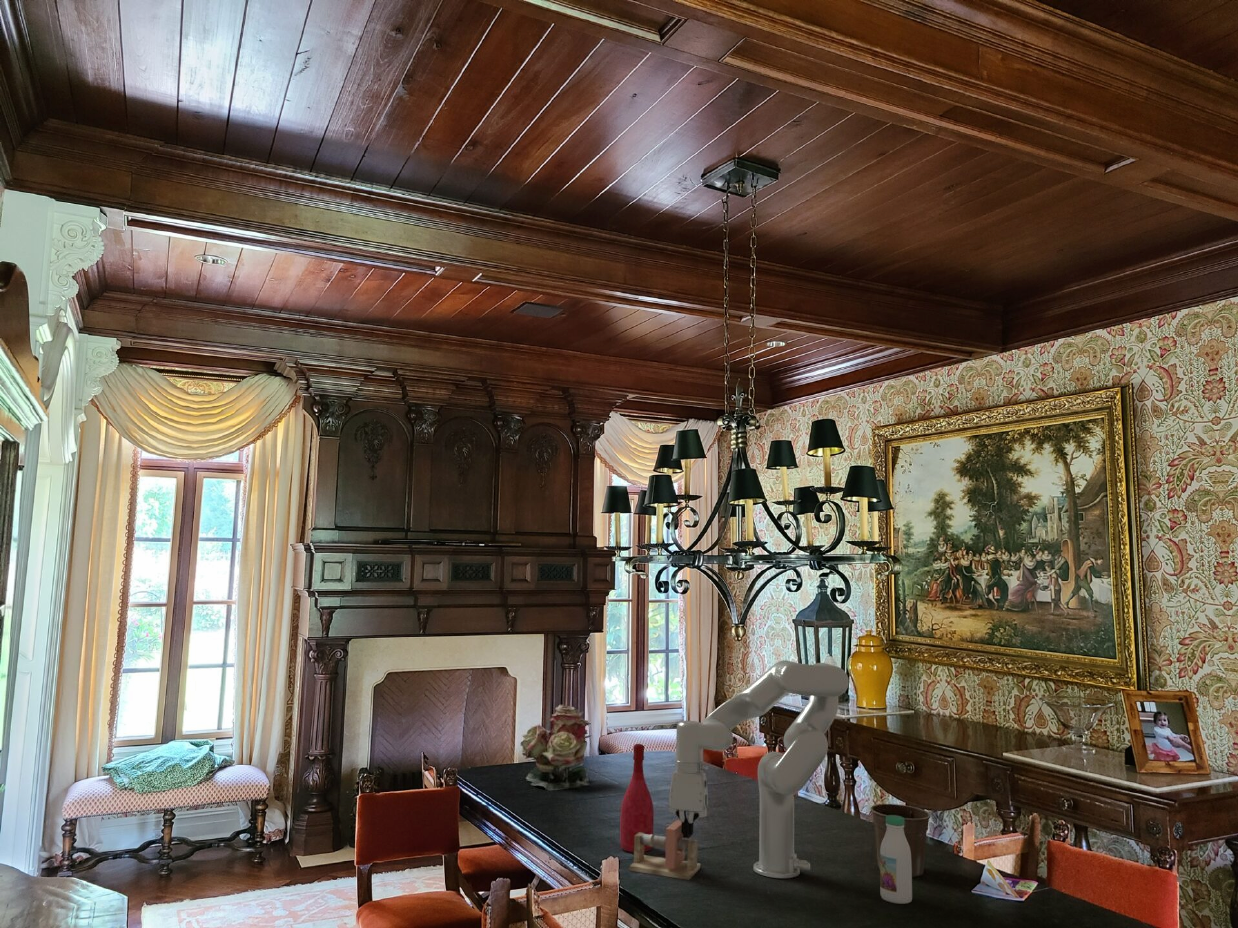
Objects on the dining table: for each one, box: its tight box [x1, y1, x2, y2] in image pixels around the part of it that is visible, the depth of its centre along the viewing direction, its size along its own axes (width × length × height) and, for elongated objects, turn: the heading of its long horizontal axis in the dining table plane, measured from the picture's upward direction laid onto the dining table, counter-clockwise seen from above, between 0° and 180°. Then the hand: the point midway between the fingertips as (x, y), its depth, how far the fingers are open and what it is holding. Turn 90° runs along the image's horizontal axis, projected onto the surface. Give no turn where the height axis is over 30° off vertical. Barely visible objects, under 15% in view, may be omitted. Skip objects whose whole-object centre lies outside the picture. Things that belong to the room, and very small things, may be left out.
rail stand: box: [628, 832, 701, 881], centre depth 237 cm, size 17×11×9 cm, turn 69°
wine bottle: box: [619, 743, 655, 854], centre depth 256 cm, size 10×10×30 cm
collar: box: [664, 819, 686, 869], centre depth 236 cm, size 2×10×10 cm, turn 159°
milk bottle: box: [879, 815, 913, 905], centre depth 220 cm, size 8×8×20 cm
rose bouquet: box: [520, 704, 592, 791], centre depth 339 cm, size 26×29×30 cm
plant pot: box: [870, 803, 932, 878], centre depth 242 cm, size 16×16×16 cm
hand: (687, 836), depth 235 cm, fingers closed
